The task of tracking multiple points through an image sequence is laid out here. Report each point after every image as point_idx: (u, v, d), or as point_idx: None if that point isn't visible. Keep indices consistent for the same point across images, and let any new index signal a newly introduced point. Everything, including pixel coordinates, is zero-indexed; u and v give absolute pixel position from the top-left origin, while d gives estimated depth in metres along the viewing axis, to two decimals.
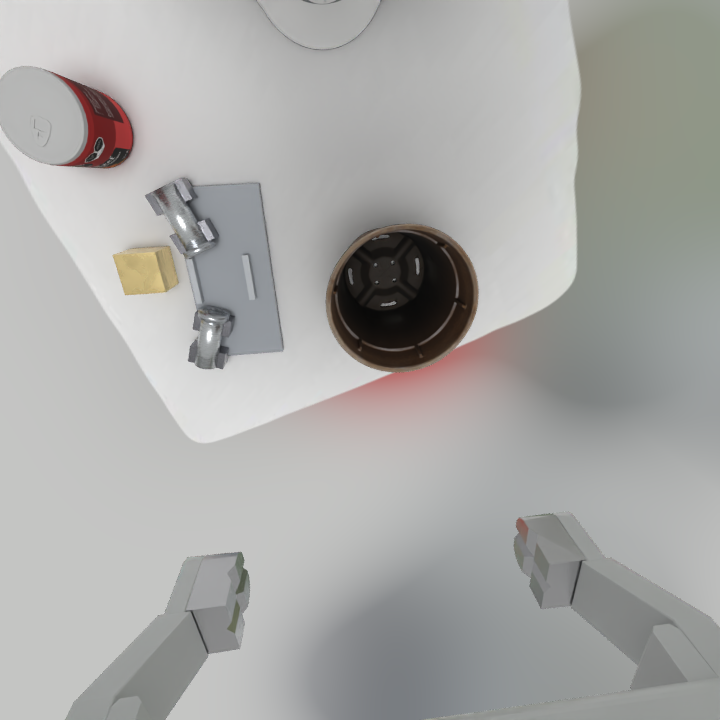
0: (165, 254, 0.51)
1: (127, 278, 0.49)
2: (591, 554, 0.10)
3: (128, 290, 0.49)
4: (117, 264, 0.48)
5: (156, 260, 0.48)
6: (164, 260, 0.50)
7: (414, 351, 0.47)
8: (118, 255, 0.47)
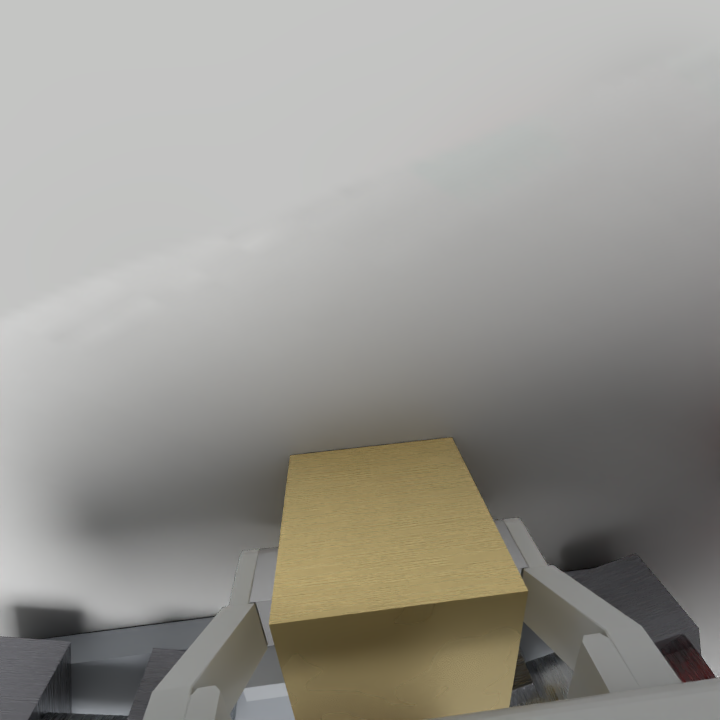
0: None
1: (380, 639, 0.08)
2: (533, 561, 0.10)
3: (303, 640, 0.08)
4: (468, 605, 0.08)
5: None
6: None
7: None
8: (518, 611, 0.08)
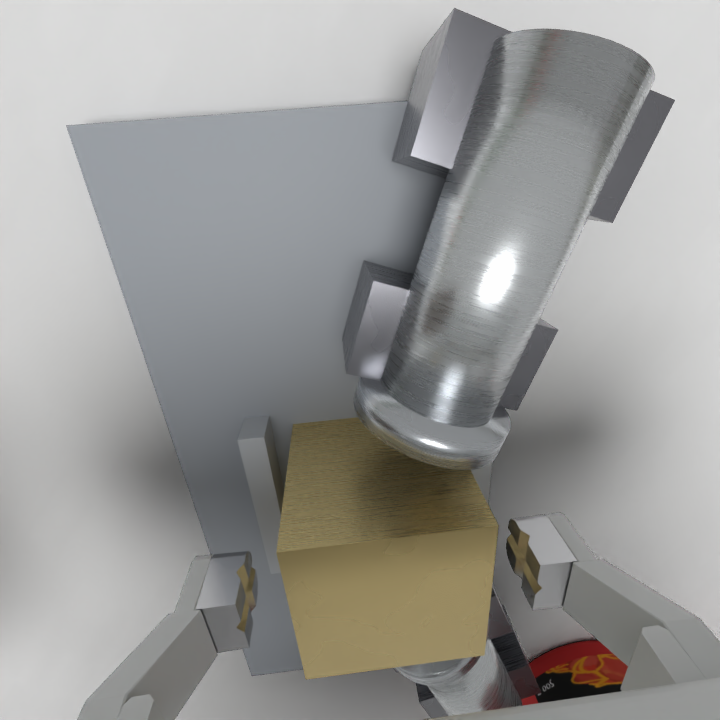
0: None
1: (371, 568, 0.09)
2: (582, 555, 0.10)
3: (305, 567, 0.09)
4: (447, 538, 0.09)
5: (449, 659, 0.11)
6: None
7: None
8: (491, 545, 0.09)
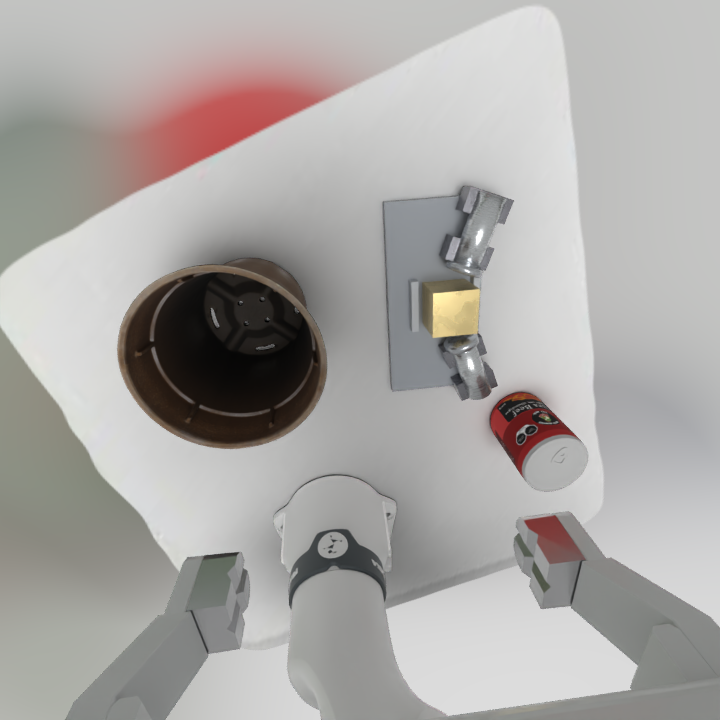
0: None
1: (452, 300, 0.41)
2: (591, 554, 0.10)
3: (438, 298, 0.41)
4: (469, 292, 0.41)
5: (468, 334, 0.43)
6: None
7: (191, 274, 0.31)
8: (478, 295, 0.41)
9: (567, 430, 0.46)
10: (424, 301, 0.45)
